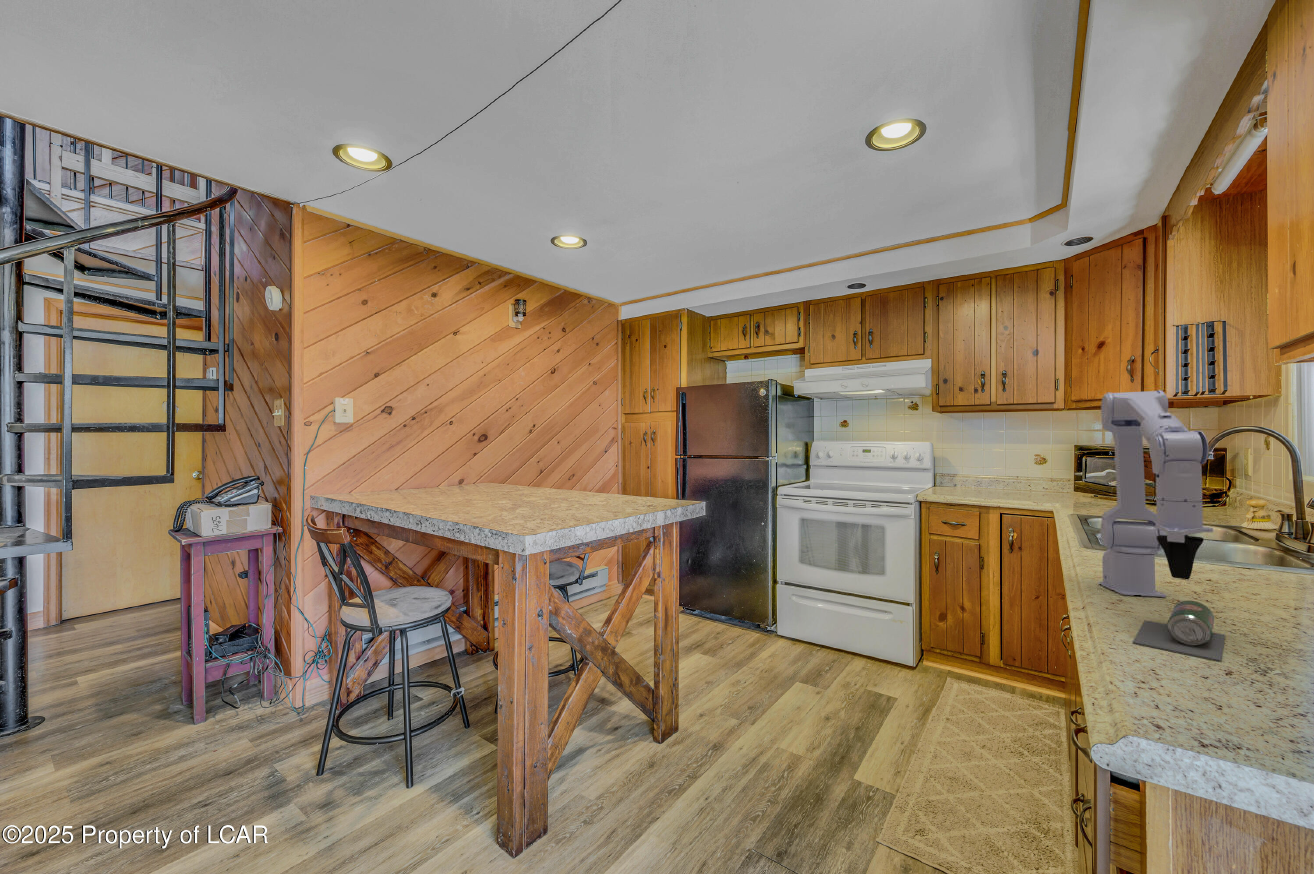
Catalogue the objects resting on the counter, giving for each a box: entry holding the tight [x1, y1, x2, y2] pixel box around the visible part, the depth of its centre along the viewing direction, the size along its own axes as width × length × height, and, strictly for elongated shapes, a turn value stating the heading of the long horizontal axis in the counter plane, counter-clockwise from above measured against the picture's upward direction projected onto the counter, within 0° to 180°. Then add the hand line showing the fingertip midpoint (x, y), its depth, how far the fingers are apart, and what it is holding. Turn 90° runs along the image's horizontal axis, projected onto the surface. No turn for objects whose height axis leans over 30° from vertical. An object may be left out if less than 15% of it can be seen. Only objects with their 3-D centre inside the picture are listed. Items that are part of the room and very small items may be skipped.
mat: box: [1132, 619, 1226, 662], centre depth 88 cm, size 15×10×1 cm, turn 131°
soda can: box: [1166, 600, 1215, 646], centre depth 88 cm, size 5×5×12 cm
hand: (1180, 577), depth 91 cm, fingers closed
